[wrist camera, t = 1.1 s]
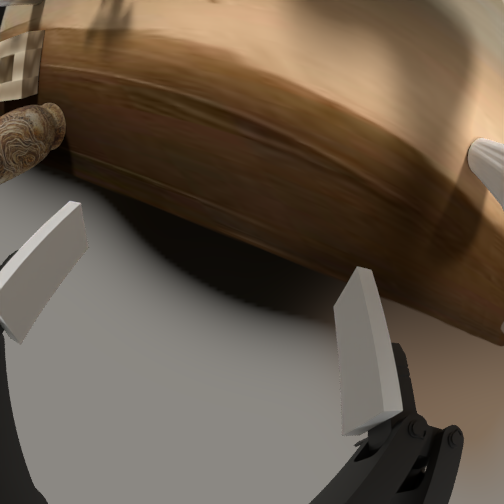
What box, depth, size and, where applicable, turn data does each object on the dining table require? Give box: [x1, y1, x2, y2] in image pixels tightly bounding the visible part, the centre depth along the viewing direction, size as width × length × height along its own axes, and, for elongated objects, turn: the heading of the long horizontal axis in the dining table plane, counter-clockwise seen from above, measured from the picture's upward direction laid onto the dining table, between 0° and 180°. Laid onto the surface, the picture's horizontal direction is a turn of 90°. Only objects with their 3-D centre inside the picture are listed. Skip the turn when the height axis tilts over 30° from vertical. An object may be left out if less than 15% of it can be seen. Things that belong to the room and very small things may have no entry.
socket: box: [0, 30, 45, 101], centre depth 23 cm, size 12×12×4 cm
